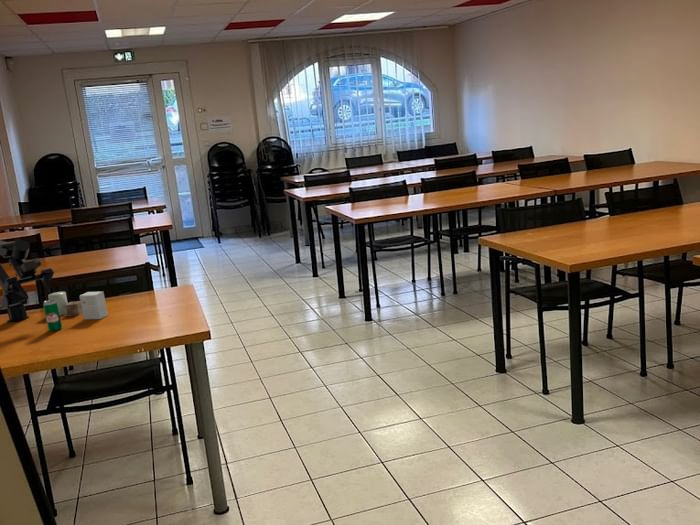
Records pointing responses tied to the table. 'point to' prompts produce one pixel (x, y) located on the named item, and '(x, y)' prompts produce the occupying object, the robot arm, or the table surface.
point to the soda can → (52, 315)
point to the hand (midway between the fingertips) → (39, 295)
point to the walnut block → (74, 308)
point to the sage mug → (60, 301)
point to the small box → (93, 305)
